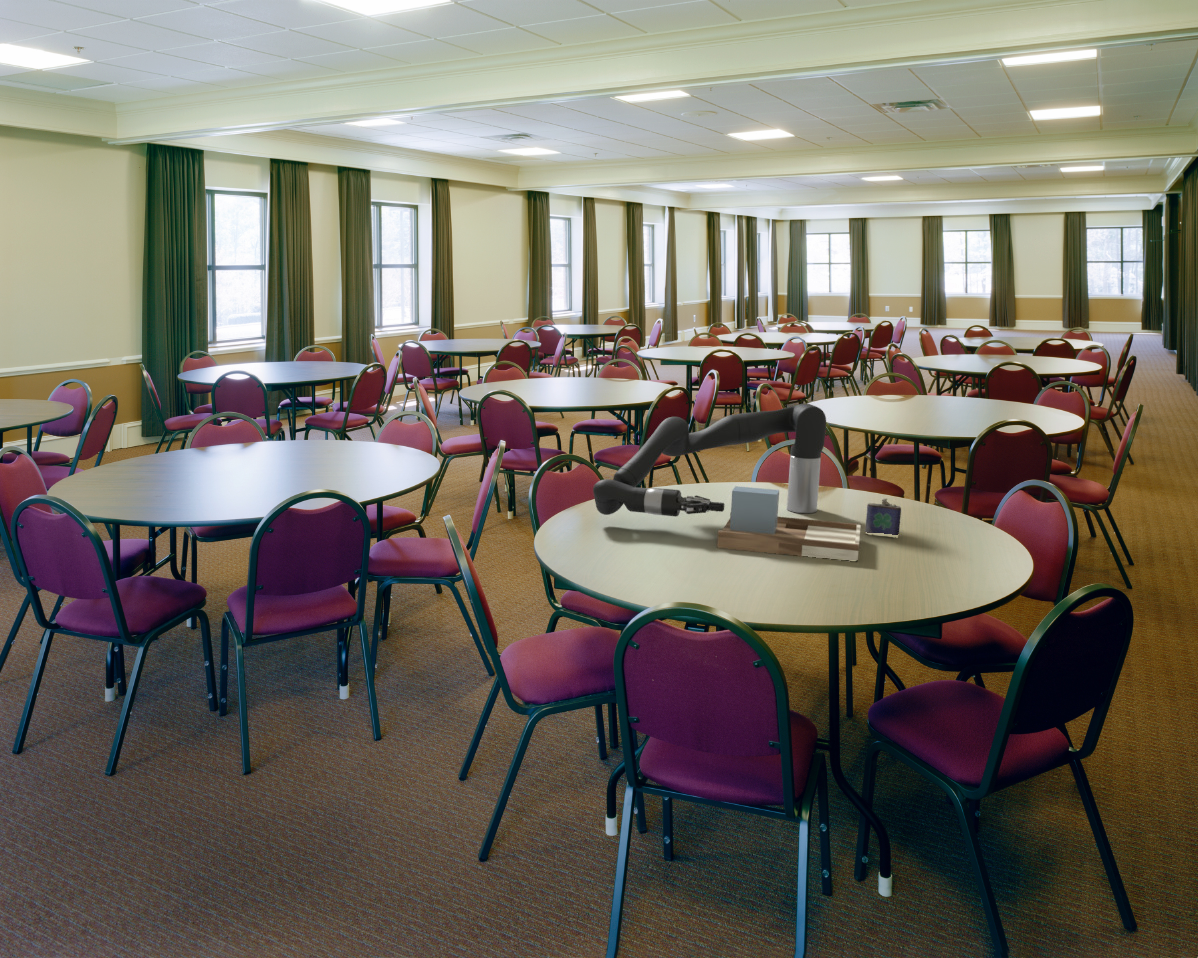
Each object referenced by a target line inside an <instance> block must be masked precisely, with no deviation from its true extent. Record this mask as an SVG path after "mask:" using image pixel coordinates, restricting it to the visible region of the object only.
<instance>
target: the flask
mask: <svg viewBox="0 0 1198 958" xmlns="http://www.w3.org/2000/svg"><path fill="white" fill-rule="evenodd" d="M866 505H867V506H866V507H867V508H866V519H865V528H864V529H865V530H864V533H865V532H867V533H884V534H892V535H898V534H899V535H900V529H901V527H900V525H901V516H902V514H901V513H902V507H901V506H900V505H896V504H895V503H890V502H888V498H883V499H882V500H881V503H871V502H868V503H867V504H866Z"/></svg>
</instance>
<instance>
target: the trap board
mask: <svg viewBox="0 0 1198 958" xmlns="http://www.w3.org/2000/svg"><path fill="white" fill-rule="evenodd" d="M730 521H731V512H730V515H729V519H728V520H727V522H726V524H725V525H724V526H723V528H722V529H721V530H717V531H718V532H717V546H716V548H717V547H718V549H719V548H720V549H726V548H728V549H727V550H735V549H736V551H745V550H746V552H756V553H764V552H767V553H766V554H774V553H776V554H777V555H783V554H789V555H788V556H793V555H797V556H796V557H802V556H808V557H807V558H812V557H816V558H815V559H822V558H832V559H844V560H859V551H860V550H859V548H860V537H861V523H854V522H853V523H850V522H841V521H830V520H819V519H818V520H817V519H807V518H799V517H798V518H797V517H787V516H785V517H784V516H778V518H777V530H776V532H775V534H766V533H756V532H745V531H735V530H730ZM776 554H775V555H776Z"/></svg>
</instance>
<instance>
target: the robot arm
mask: <svg viewBox="0 0 1198 958" xmlns="http://www.w3.org/2000/svg"><path fill="white" fill-rule="evenodd" d="M826 430H827V417H826V413H825V412H824V411H823V410H822V409H821V408H820V407H818V406H816V405H813V404H810V403H800V404H795V405H792V406H788V407H784V408H781V409H777V410H766V411H763V410H762V411H753V412H742V413H736V414H729V415H727V416H724V417H723V418H720V419H718V420H716V422H714V423H713V424H711V425H709V426H708V427H705V428H703V429H702V430H701V429H700V430H698V431H695V432H690V429H689V424H688V422H687V421H686V420H685V419H684V418H681V417H679V416H671V417H667V418H665V419H664V420H663V421H661V423H659V425H658V426H657V428H656V429H655V430H654V432H653V433H652V434H651V436H650V437H649V438H648V439H647V440H646V442H645V443H644V444H643V445H642V446H641V448H640V449H638V451H637V452H636V453H635V454H634V455H633V456H632V457H631V458H630V459H629V460H628V461H627V462H626V463H624V465H622V466H621V467H620V468H619V469H618V470H617V471H616V472H615V473H614V475H613V479H611V478H610V479H609V478H607V479H606V478H605V479H601V480H598V481H597V482H595V484H594V485H593V488H592V492H593V498H594V502H595V508H596V510H597V511H598V512H599V513H600V514H602V515H605V516H607V515H609V516H610V515H613V514H615V513H616V512H617V511H619V510H620V509H621V508H622V507H623V505H624V506H625V508H626V509H627V511H629V512H632V513H642V514H643V513H644V514H651V515H655V516H666V517H667V516H668V517H679V515H680V513H681V511H682V512H684V513H686V514H687V515H693V514H694V515H695V514H703V513H704V514H706V513H707V512H720V513H721V512H723V511H724V510H725V506H726V505H725V503H724V502H718V501H712V500H711V499H709V498H707V497H703V496H700V495H694V496H693V495H687V496H685V497H683V496H682V492H681V490H680V489H673V488H660V487H653V488H652V487H651V488H647V487H637V486H638V485H639V484H640V483H641V482H642V481H643V480H644V479H645V478H646V477H647V476H648V475H649V474H650V472H651V470H652V469H653V467H654V466H655V464H656V463H657V461H658V459H659V458H660V456H661V455H664V456H668V457H679V456H685V455H689V454H693V453H697V452H701V451H704V450H711V449H715V448H722V447H728V446H734V445H742V444H743V445H744V444H750V443H753V442H757V441H760V440H762V439H763V440H764V439H765V438H767V437H768V438H769V437H770V436H772V435H773V436H774V435H777V434H781V433H783V434H785V433H795V437H794V444H793V445H792V446H791V447H790V455H789V458H790V459H789V471H788V474H789V475H788V487H787V488H788V489H787V502H786V510H787V511H789V512H793V513H798V514H813V513H816V512H817V510H818V499H819V485H820V475H821V474H820V473H821V458H822V451H823V449H824V446H825V439H826V432H827V431H826Z"/></svg>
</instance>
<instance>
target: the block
mask: <svg viewBox="0 0 1198 958" xmlns="http://www.w3.org/2000/svg"><path fill="white" fill-rule="evenodd" d="M779 499H780V489H771V488H759V487H748V486H739V485H738V486H736V485H735V486H734V488H733V489H732V490H731V506H730V507H731V508H730V513H731V521H730V530H735V531H745V532H756V533H766V534H775V532H776V530H777V518H778V517H779V501H780V500H779Z"/></svg>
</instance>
